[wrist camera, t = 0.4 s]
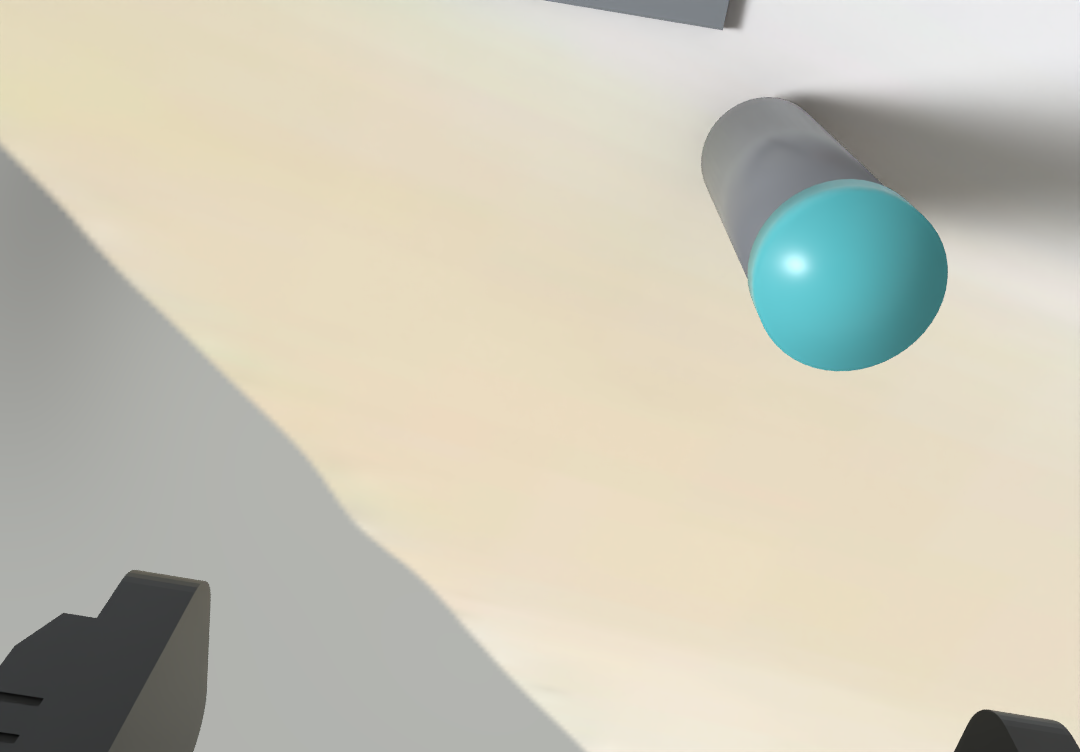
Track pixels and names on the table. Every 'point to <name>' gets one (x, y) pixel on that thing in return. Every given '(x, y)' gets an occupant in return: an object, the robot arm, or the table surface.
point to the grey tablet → (665, 10)
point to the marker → (821, 239)
